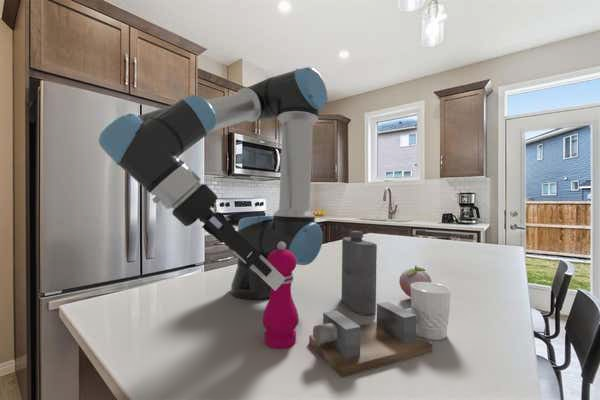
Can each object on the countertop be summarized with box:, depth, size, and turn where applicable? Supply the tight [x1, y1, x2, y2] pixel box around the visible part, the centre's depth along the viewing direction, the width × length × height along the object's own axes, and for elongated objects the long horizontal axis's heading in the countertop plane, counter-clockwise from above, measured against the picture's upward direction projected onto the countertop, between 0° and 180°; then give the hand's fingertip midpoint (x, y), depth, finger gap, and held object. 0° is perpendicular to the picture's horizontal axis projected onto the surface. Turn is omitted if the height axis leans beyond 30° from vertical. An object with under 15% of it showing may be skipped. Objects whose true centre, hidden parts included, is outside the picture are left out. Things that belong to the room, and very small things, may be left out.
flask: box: [341, 230, 378, 316], centre depth 79 cm, size 15×6×20 cm, turn 13°
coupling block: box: [308, 301, 433, 378], centre depth 56 cm, size 12×23×6 cm, turn 114°
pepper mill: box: [262, 242, 300, 349], centre depth 58 cm, size 7×7×20 cm
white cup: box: [410, 281, 451, 341], centre depth 63 cm, size 8×8×10 cm
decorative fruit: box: [398, 265, 432, 298], centre depth 84 cm, size 9×8×10 cm
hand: (268, 274), depth 57 cm, fingers open, 13 cm apart
